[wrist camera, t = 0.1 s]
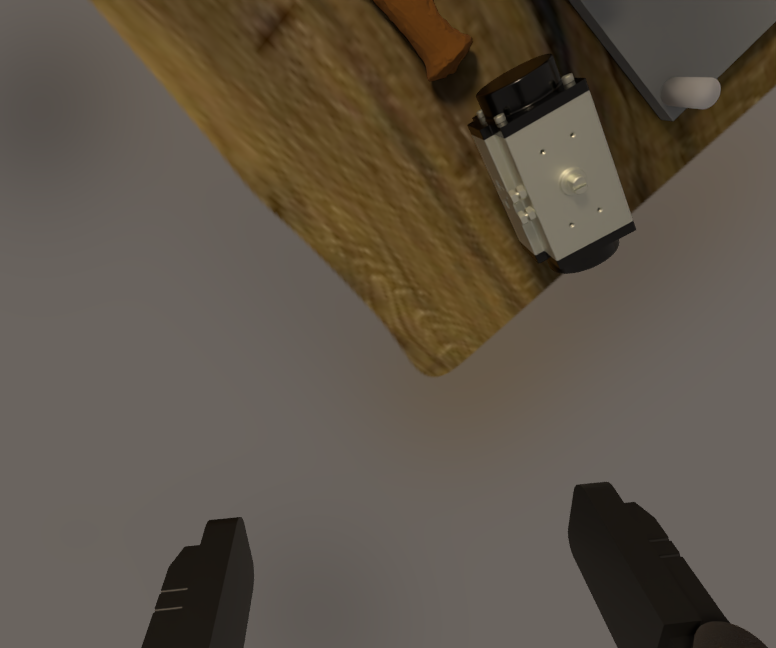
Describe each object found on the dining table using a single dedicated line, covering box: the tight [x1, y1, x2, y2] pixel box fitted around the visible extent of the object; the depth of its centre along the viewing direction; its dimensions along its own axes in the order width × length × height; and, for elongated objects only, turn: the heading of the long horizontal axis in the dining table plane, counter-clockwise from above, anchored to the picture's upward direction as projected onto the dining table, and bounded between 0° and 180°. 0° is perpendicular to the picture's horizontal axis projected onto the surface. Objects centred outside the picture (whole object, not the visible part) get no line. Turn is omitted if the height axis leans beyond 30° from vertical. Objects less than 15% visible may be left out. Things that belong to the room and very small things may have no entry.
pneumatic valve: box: [467, 54, 636, 274], centre depth 32 cm, size 6×12×12 cm, turn 29°
